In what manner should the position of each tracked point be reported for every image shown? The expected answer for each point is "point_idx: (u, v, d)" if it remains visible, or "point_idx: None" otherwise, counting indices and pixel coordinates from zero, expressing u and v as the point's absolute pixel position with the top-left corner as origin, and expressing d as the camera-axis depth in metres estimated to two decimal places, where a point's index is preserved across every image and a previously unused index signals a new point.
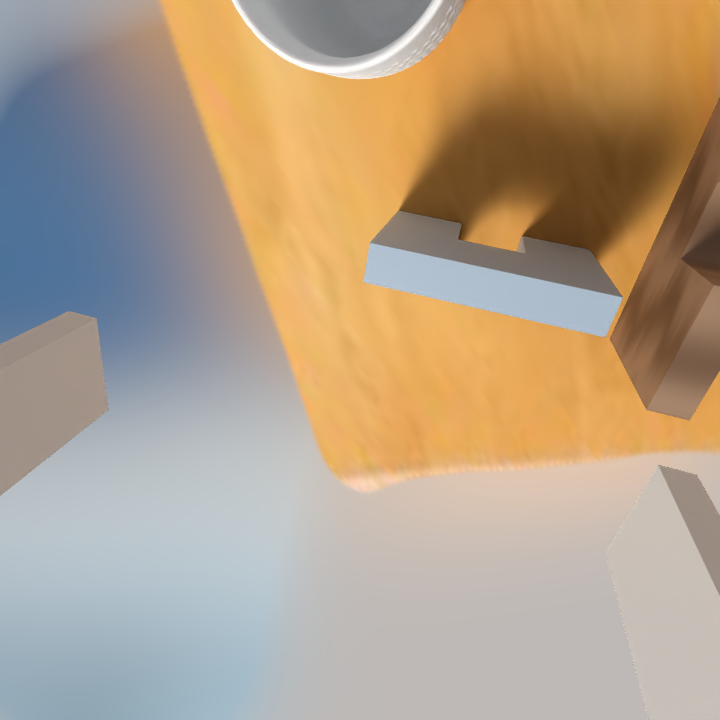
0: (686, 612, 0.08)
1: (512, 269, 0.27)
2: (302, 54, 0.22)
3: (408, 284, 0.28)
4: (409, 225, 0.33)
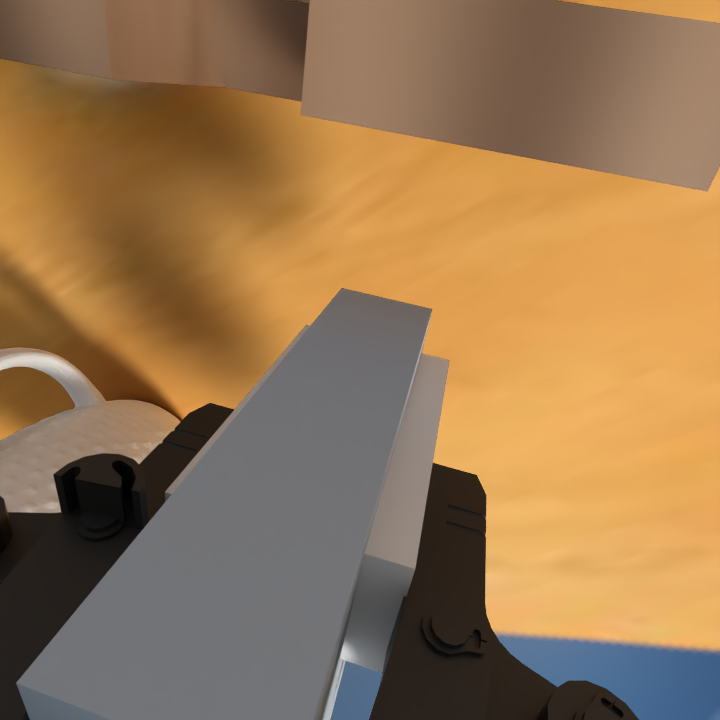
0: None
1: None
2: None
3: None
4: None
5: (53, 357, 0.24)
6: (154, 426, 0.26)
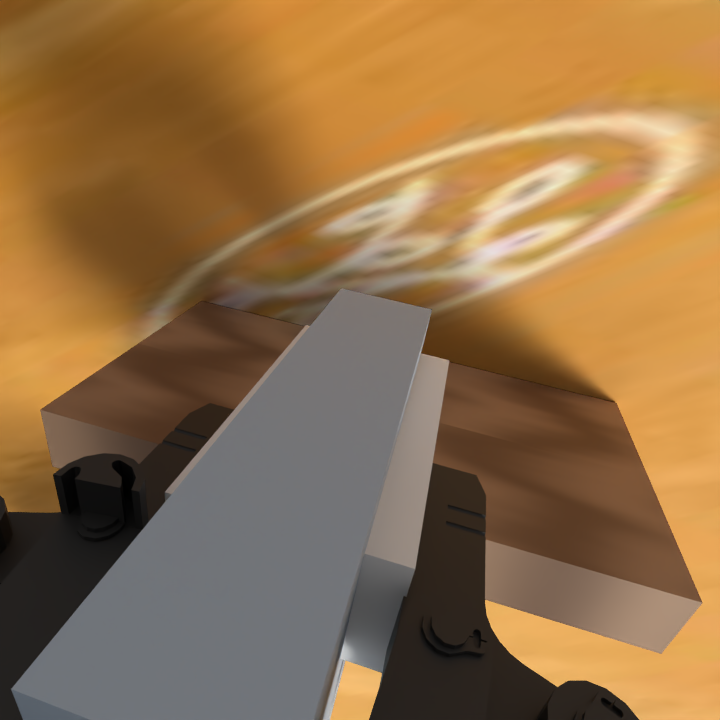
0: None
1: None
2: None
3: None
4: None
5: None
6: None
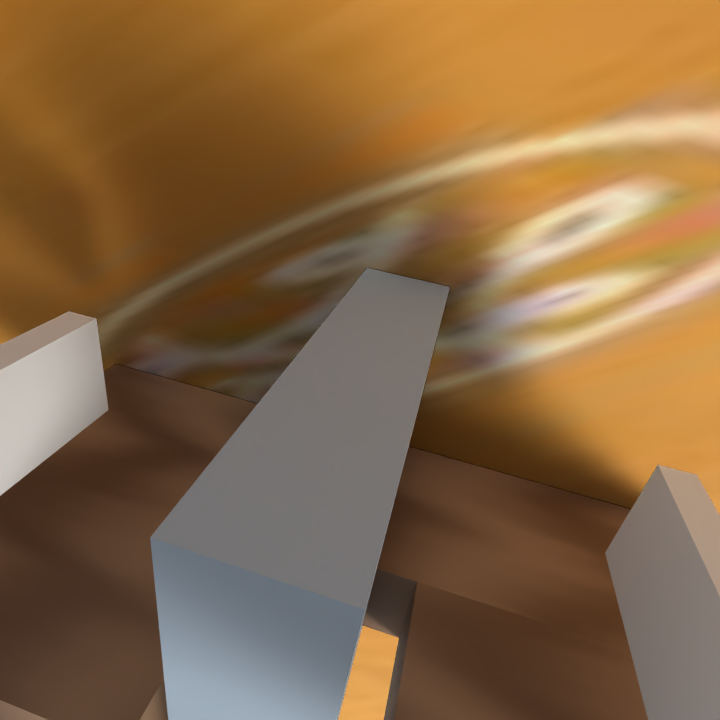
0: (686, 612, 0.08)
1: None
2: None
3: None
4: None
5: None
6: None
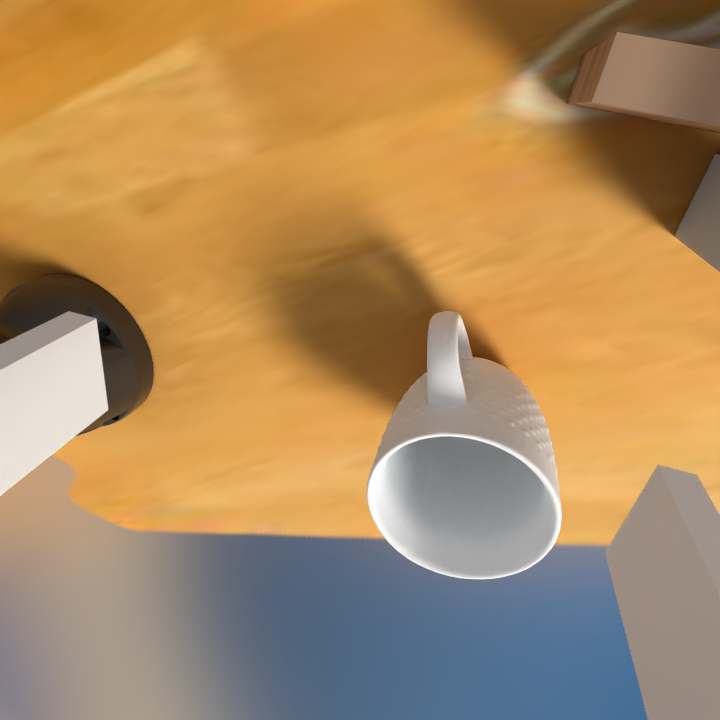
0: (687, 612, 0.08)
1: None
2: (538, 545, 0.28)
3: None
4: (709, 227, 0.26)
5: (461, 319, 0.32)
6: (515, 375, 0.34)
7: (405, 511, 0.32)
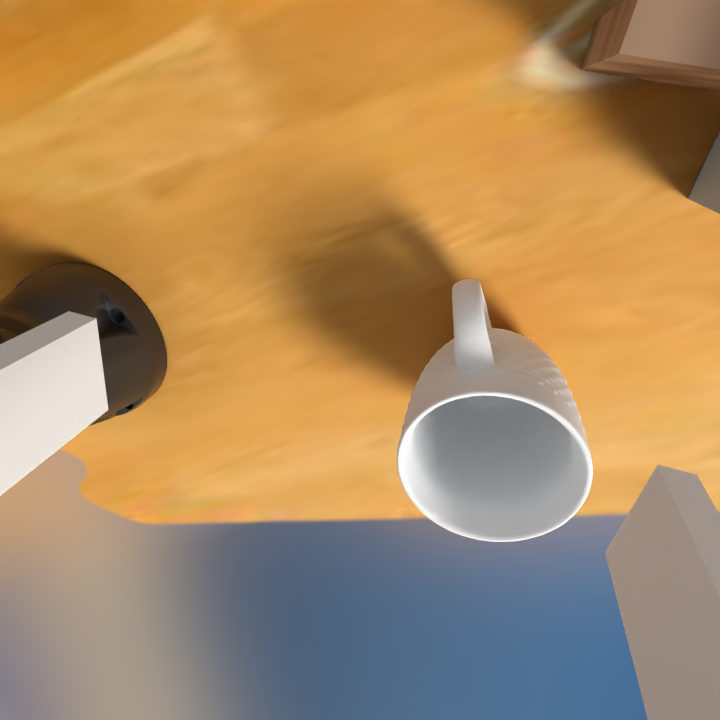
0: (687, 612, 0.08)
1: None
2: (568, 503, 0.28)
3: None
4: None
5: (481, 288, 0.33)
6: None
7: (432, 479, 0.32)
